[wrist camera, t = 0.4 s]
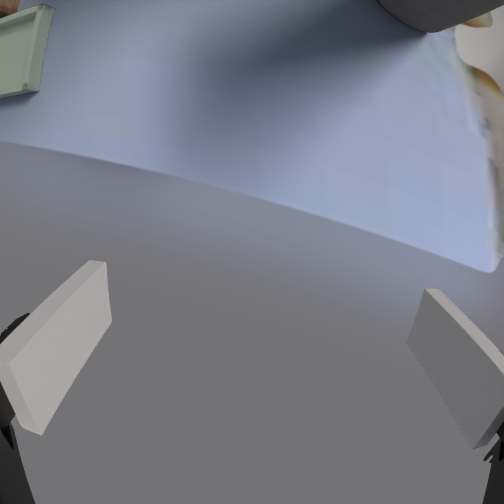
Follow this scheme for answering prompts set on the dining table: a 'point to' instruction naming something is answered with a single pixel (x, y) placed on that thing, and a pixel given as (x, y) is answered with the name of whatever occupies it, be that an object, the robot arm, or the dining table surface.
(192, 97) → the dining table surface
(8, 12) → the holder
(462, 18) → the vase
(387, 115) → the dining table surface
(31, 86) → the tray
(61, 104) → the dining table surface
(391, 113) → the dining table surface
